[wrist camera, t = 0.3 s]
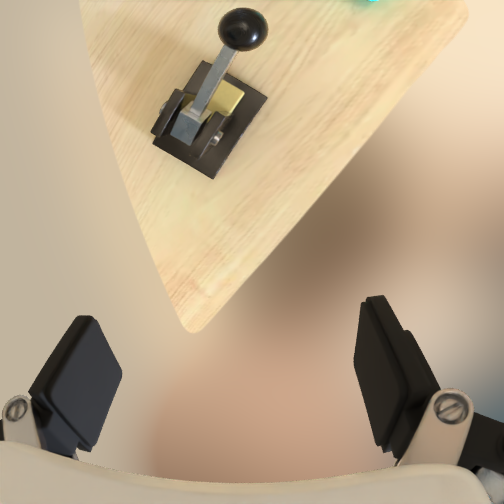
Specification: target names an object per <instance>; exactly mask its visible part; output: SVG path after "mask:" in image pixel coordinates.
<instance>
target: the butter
mask: <svg viewBox="0 0 504 504" xmlns="http://www.w3.org/2000/svg"><path fill="white" fill-rule="evenodd" d="M244 94H245V93H244V92H243V91H242V90H240V89H238V88H236V87H235V86H233V85H231V84H230V83H228V82H226V81H224V80H223V79H222V81H221V83H220V84H219V86H218V88H217V90H216V92H215V93H214V95H213V97H212V99H211V101H210V102H209V104H208V106H207V108H206V109H208V110H209V111H211V112H212V114H211V116H210V118H209V119H208V121H207V123H208V122H209V120H210V119H211V117H212V116H213V114H214V113H215V111H227V112H229V113H232V111H233V110H234V108H235V107H236V105H237V104H238V102H239V101H240V99H241V98H242V97H243V95H244Z"/></svg>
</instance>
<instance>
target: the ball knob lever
mask: <svg viewBox="0 0 504 504" xmlns="http://www.w3.org/2000/svg"><path fill="white" fill-rule="evenodd" d="M218 35H219V37H220V39H221V41H222V42H223V44H224V46H223V47H222V49H221V51H220V53H219V55H218V56H217V58H216V60H215V62H214V64H213V65H212V67H211V69H210V71H209V73H208V75H207V77H206V78H205V80H204V82H203V84H202V86H201V88H200V90H199V92H198V94H197V96H196V98H195V100H194V101H191V102H190V103H189V104H188V105H187V106H185V107H184V108H183V109H182V110H181V111H180V113H179V115H178V117H177V119H176V122H175V124H174V126H173V128H172V131H171V133H170V135H172V136H174V137H175V138H177V139H179V140H181V141H182V142H184V143H186V144H188V145H189V146H191V145H192V143H193V142H194V141H195V140H196V139H197V137H198V136H199V135H200V134H201V132H202V131H203V129H204V127H205V125H206V123H207V121H208V119H209V118H210V116H211V114H212V112H211V111H209V110H208V109H206V108H207V106H208V104H209V102H210V101H211V99H212V97H213V95H214V93H215V92H216V90H217V88H218V86H219V84H220V83H221V81H222V79H223V77H224V76H225V74H226V72H227V71H228V69H229V67H230V66H231V64H232V62H233V60H234V59H235V57H236V56H237V54H238V52H239V51H250V50H253V49H256V48H257V47H259V46H260V45H261V44H262V43H263V42H264V41H265V39H266V38H267V35H268V24H267V21H266V19H265V18H264V16H263V15H262V14H260V13H259V12H258V11H256V10H254V9H251V8H236V9H233V10H231V11H229V12H227V13H226V14H225V15H224V16H223V17H222V19H221V20H220V22H219V25H218Z"/></svg>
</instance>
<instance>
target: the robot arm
mask: <svg viewBox="0 0 504 504" xmlns="http://www.w3.org/2000/svg"><path fill="white" fill-rule="evenodd" d="M354 368H355V372H356V375H357V378H358V382H359V385H360V389H361V392H362V396H363V399H364V403H365V406H366V409H367V413H368V417H369V421H370V424H371V428H372V432H373V436H374V439H375V443H376V445H377V446H381V447H382V450H383V453H386V452H390V451H392V452H393V455H394V457H395V458H396V461H395V463H394V465H393V467H389V468H384V469H379V470H373V471H367V472H361V473H355V474H350V475H343V476H336V477H329V478H322V479H313V480H301V481H290V482H276V483H211V482H196V481H184V480H175V479H166V478H159V477H152V476H145V475H139V474H134V473H128V472H123V471H118V470H114V469H109V468H104V467H101V466H96V465H93V464H89V463H85V462H81V461H79V460H78V457H77V454H76V452H75V450H76V448H78V449H80V450H83V451H87V452H91V450H92V447H93V446H94V445H95V444H96V443H97V441H98V438H99V435H100V432H101V430H102V427H103V424H104V422H105V419H106V416H107V414H108V411H109V408H110V406H111V403H112V401H113V398H114V396H115V393H116V391H117V388H118V386H119V383H120V381H121V378H122V370H121V367H120V366H119V363H118V362H117V360H116V358H115V356H114V354H113V352H112V350H111V348H110V346H109V344H108V342H107V340H106V338H105V336H104V334H103V332H102V330H101V328H100V325H99V323H98V321H97V320H95V319H94V318H93V317H92V316H82V315H81V316H77V317H76V318H75V319H74V321H73V322H72V324H71V325H70V327H69V328H68V330H67V331H66V333H65V334H64V336H63V337H62V339H61V340H60V341H59V343H58V344H57V346H56V348H55V349H54V351H53V352H52V354H51V355H50V357H49V358H48V360H47V361H46V363H45V365H44V366H43V368H42V369H41V371H40V373H39V374H38V376H37V378H36V379H35V381H34V383H33V384H32V386H31V388H30V389H29V391H28V392H29V394H30V395H31V396H32V398H31V400H30V399H29V398H28V397H27V396H24V395H17V396H14V397H13V398H11V399H10V400H9V401H8V402H7V403H6V404H5V406H4V408H3V411H2V419H1V420H0V504H491V502H493V503H494V504H504V423H502V422H499V421H496V420H494V419H491V418H488V417H485V416H483V415H480V414H478V413H475V412H474V406H473V402H472V400H471V399H470V397H469V396H468V395H467V394H466V393H465V392H463V391H460V390H459V389H454V388H447V389H443V390H441V389H440V387H439V384H438V383H437V381H436V378H435V377H434V374H433V373H432V371H431V368H430V366H429V365H428V363H427V361H426V359H425V357H424V355H423V353H422V351H421V349H420V347H419V346H418V344H417V342H416V340H415V338H414V336H413V335H412V333H411V332H410V331H409V330H403V328H402V326H401V325H400V323H399V321H398V319H397V317H396V316H395V314H394V312H393V310H392V308H391V306H390V305H389V303H388V301H387V299H386V298H385V296H384V295H380V296H373V297H367V299H366V302H362V303H361V307H360V315H359V324H358V332H357V339H356V346H355V353H354ZM487 494H488V495H489V496H490V497H491V498H490V499H489V497H488V495H487Z"/></svg>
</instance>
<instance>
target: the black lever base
mask: <svg viewBox="0 0 504 504" xmlns="http://www.w3.org/2000/svg"><path fill="white" fill-rule="evenodd" d="M211 67H212V65H211V64H209V63H207V62H205V61H202V62H201V64H200V65H199V66H198V68H197V69H196V71H195V72H194V74H193V76H192V77H191V79H190V80H189V82H188V83H187V85H186V86H185V88H184V90H180V89H175V90H174V92H173V93H172V95H171V97H170V98H169V100H168V101H167V102H165V103H164V105H163V106H162V108H161V109H160V112H159V114H160V115H159V117H158V119H157V121H156V123H155V124H154V126H153V128H152V130H151V133H152V134H154V135H156V137H155V139H154V141H153V143H152V144H153V145H155V146H157V147H159V148H160V149H162V150H164V151H166V152H167V153H169V154H171V155H172V156H174V157H176V158H178V159H179V160H181V161H183V162H184V163H186V164H188V165H190V166H191V167H193V168H195V169H196V170H198V171H200V172H201V173H203V174H205V175H206V176H208V177H210V178H211V179H214V177H215V176H216V174H217V173H218V171H219V170H220V168H221V166H222V165H223V163H224V162H225V160H226V159H227V157H228V156H229V154H230V152H231V151H232V149H233V148H234V146H235V145H236V143H237V142H238V140H239V139H240V137H241V136H242V134H243V133H244V131H245V130H246V128H247V127H248V125H249V124H250V123H251V121H252V120H253V118H254V117H255V115H256V114H257V112H258V111H259V110H260V108H261V107H262V105H263V104H264V102H265V101H266V100H267V97H266V96H264V95H263V94H261V93H260V92H258V91H256V90H255V89H253V88H251V87H250V86H248V85H246V84H245V83H243V82H241V81H240V80H238V79H236V78H234V77H233V76H231V75H229V74H227V73H226V74H225V76H224V77H223V80H224V81H226V82H228V83H230V84H231V85H233V86H235V87H236V88H238V89H240V90H242V91H243V92H244V93H245V94H244V95H243V97H242V98H241V99H240V101H239V102H238V104H237V105H236V107H235V108H234V110H233V111H232V113H229V112H227V111H215V113H214V114H213V116H212V117H211V119H210V120H209V122H208V123H206V125H205V127H204V129H203V131H202V132H201V134H200V135H199V136H198V137H197V139H196V140H195V141H194V142H193V143H192V145H191V146H189V145H188V144H186V143H184V142H182V141H181V140H179V139H177V138H175V137H174V136H172V135H170V133H171V131H172V128H173V126H174V124H175V122H176V119H177V117H178V115H179V113H180V111H181V110H182V109H183V108H184V107H185V106H187V105H188V104H189V103H190V102H191V101H194V100H195V98H196V96H197V94H198V92H199V90H200V88H201V86H202V84H203V82H204V80H205V78H206V77H207V75H208V73H209V71H210V69H211Z"/></svg>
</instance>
